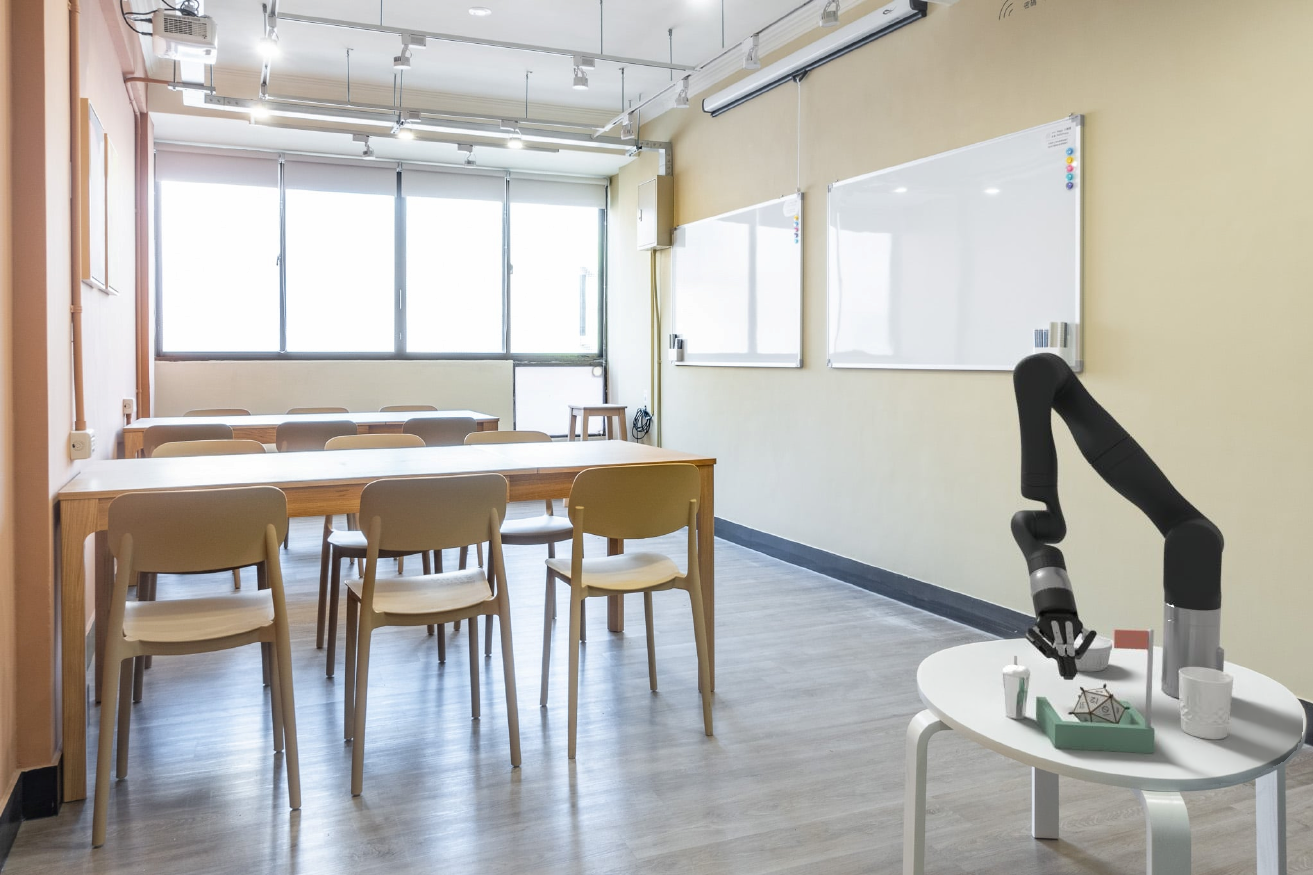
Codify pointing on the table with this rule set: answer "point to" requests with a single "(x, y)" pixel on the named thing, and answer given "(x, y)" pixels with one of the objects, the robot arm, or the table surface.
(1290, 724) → the table surface
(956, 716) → the table surface
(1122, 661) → the table surface
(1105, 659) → the ramekin
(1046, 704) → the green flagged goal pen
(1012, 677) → the milkshake
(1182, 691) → the white cup
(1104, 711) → the game die
